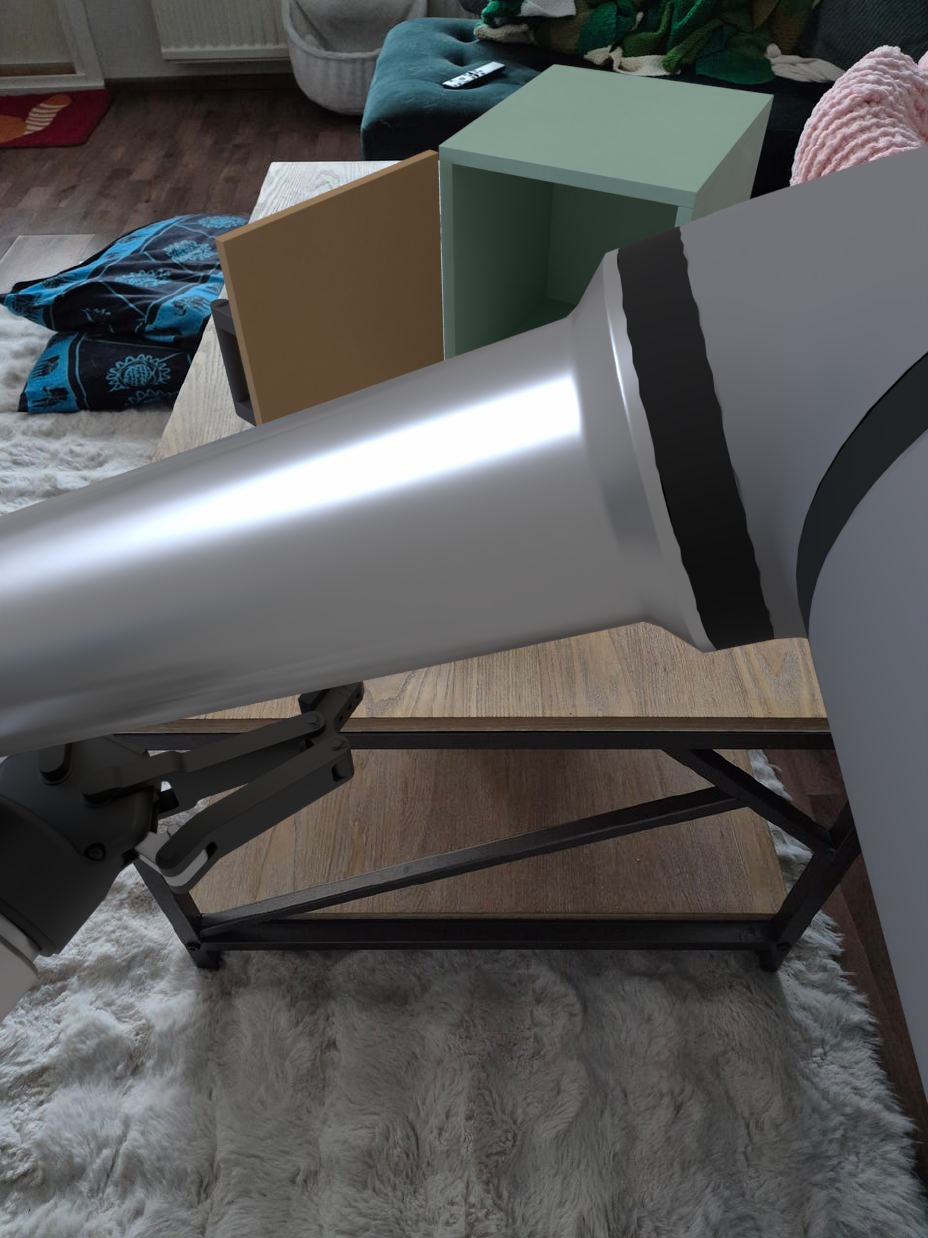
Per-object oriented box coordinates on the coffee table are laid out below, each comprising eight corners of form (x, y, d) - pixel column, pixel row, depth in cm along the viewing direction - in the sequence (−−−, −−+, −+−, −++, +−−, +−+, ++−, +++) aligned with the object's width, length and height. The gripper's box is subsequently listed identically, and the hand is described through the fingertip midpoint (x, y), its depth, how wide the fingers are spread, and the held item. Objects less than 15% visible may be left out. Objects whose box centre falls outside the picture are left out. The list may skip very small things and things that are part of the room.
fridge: (646, 461, 80) (697, 191, 62) (445, 404, 87) (438, 145, 69) (716, 342, 95) (774, 94, 76) (539, 300, 101) (553, 63, 83)
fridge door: (237, 483, 78) (168, 215, 60) (401, 385, 89) (383, 133, 71) (282, 513, 75) (223, 241, 58) (445, 408, 86) (438, 151, 68)
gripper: (-172, 835, 42) (123, 568, 55) (234, 1086, 35) (467, 709, 47) (-269, 751, 37) (84, 475, 49) (190, 1029, 29) (468, 619, 42)
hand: (272, 589), depth 48 cm, fingers open, 13 cm apart
